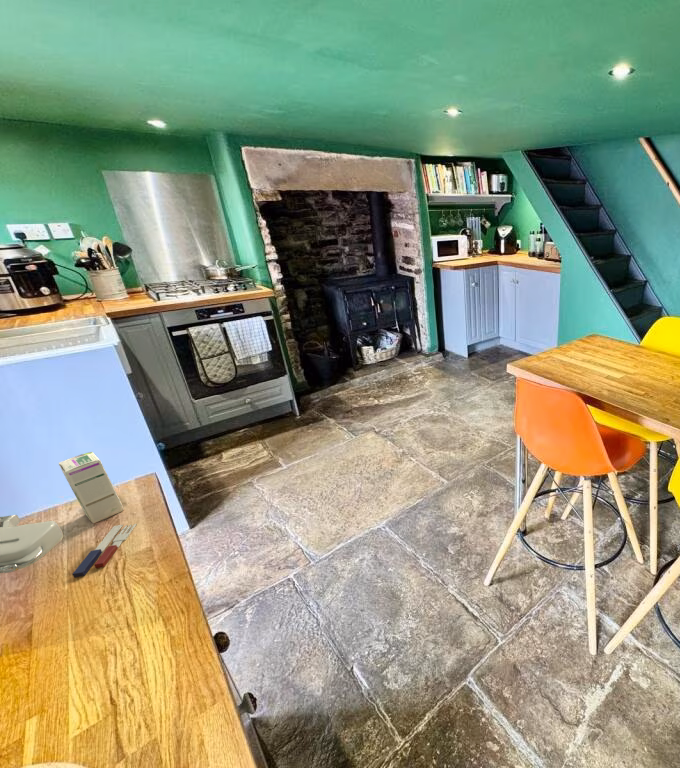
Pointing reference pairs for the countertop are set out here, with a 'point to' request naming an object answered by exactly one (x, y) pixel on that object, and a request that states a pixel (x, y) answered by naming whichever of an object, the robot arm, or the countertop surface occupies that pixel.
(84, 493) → the syrup box
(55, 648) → the countertop surface
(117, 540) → the fork
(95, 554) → the knife
